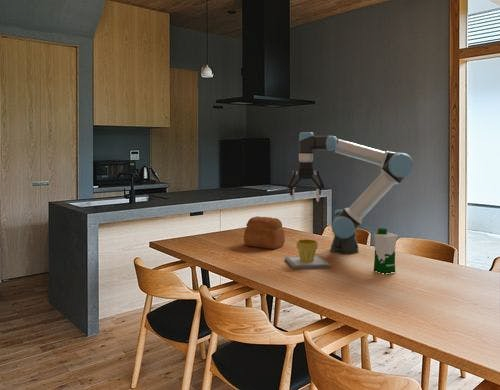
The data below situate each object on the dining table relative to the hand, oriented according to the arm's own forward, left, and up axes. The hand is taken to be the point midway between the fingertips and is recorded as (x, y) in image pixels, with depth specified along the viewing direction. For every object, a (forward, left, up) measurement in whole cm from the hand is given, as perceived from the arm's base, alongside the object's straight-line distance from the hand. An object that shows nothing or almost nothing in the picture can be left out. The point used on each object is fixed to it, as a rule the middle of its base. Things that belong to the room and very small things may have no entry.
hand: (305, 201), depth 239 cm
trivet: (+4, +19, -29) cm, 35 cm away
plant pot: (+4, +19, -27) cm, 33 cm away
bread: (+18, -23, -29) cm, 41 cm away
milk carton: (-28, +38, -29) cm, 56 cm away
